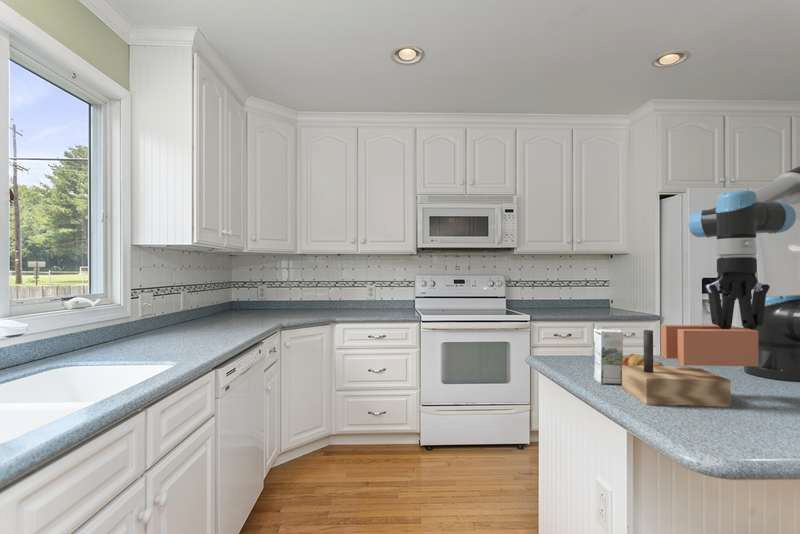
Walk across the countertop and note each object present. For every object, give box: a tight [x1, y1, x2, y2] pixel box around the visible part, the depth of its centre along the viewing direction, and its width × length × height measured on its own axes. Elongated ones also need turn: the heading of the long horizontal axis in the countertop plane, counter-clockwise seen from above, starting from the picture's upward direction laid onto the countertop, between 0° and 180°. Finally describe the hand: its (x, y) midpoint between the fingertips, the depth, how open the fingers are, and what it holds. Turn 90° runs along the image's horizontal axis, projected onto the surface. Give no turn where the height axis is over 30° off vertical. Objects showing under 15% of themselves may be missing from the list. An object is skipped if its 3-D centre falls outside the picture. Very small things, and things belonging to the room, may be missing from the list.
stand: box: [621, 329, 732, 408], centre depth 103 cm, size 18×13×16 cm
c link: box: [660, 324, 759, 367], centre depth 102 cm, size 16×10×8 cm, turn 85°
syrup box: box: [593, 327, 624, 385], centre depth 116 cm, size 6×6×14 cm
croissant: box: [623, 353, 664, 366], centre depth 121 cm, size 21×10×8 cm, turn 37°
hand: (737, 355), depth 101 cm, fingers closed on c link, 2 cm apart
